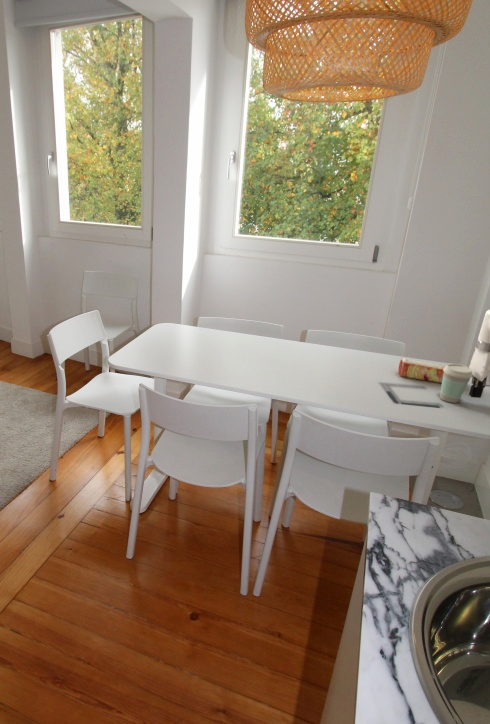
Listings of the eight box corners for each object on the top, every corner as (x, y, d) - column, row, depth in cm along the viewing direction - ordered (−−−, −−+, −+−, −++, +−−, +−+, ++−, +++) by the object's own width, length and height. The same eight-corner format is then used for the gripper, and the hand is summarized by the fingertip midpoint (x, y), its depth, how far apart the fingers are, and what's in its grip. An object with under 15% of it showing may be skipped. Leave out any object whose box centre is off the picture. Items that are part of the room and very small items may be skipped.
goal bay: (439, 407, 158) (439, 407, 157) (394, 404, 160) (394, 403, 160) (421, 388, 173) (422, 387, 173) (381, 385, 175) (381, 384, 175)
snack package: (458, 381, 179) (463, 365, 176) (460, 388, 173) (466, 372, 170) (396, 371, 186) (401, 355, 183) (397, 377, 181) (402, 361, 178)
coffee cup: (463, 397, 165) (473, 366, 160) (463, 407, 159) (474, 375, 154) (435, 391, 169) (445, 360, 164) (434, 400, 163) (444, 369, 158)
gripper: (514, 354, 148) (497, 406, 155) (490, 340, 162) (476, 388, 169) (488, 353, 149) (472, 404, 156) (467, 338, 163) (453, 387, 170)
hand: (474, 396), depth 162 cm, fingers closed
